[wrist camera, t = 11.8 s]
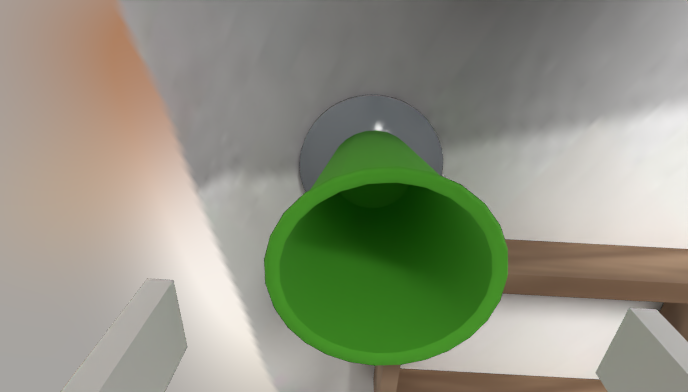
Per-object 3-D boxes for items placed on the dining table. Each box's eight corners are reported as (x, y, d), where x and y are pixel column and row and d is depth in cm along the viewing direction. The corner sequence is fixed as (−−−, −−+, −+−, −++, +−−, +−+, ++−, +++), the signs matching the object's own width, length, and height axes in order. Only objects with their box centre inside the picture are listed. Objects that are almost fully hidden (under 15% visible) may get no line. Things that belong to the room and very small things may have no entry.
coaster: (300, 90, 22) (299, 92, 22) (452, 98, 22) (454, 100, 22) (301, 222, 26) (299, 226, 26) (429, 229, 26) (431, 233, 26)
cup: (338, 247, 27) (328, 389, 17) (274, 133, 23) (214, 228, 13) (462, 201, 25) (535, 330, 15) (415, 69, 21) (468, 123, 11)
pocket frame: (390, 233, 27) (396, 267, 23) (710, 250, 26) (765, 288, 23) (373, 379, 33) (375, 423, 30) (629, 393, 33) (662, 440, 29)
